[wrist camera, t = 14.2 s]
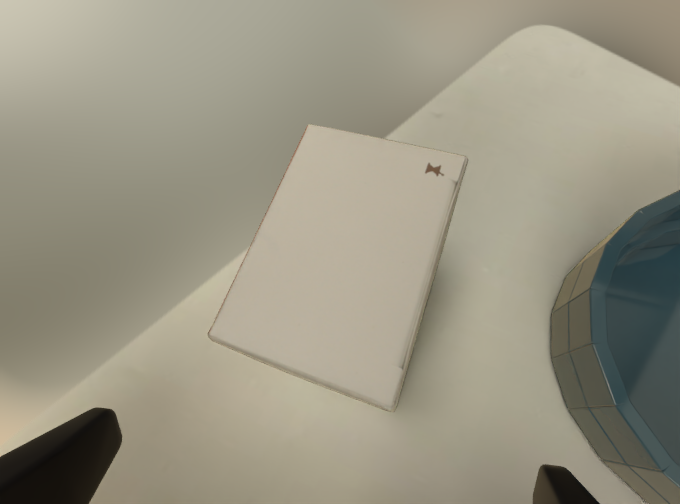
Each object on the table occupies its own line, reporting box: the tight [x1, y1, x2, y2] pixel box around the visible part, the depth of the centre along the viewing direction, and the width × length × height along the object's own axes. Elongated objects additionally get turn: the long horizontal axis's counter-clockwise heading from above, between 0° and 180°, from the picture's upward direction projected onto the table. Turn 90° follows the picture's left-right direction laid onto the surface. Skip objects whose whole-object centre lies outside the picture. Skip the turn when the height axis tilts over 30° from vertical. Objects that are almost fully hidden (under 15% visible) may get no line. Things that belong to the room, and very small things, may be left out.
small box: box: [208, 124, 468, 412], centre depth 16 cm, size 8×6×10 cm
